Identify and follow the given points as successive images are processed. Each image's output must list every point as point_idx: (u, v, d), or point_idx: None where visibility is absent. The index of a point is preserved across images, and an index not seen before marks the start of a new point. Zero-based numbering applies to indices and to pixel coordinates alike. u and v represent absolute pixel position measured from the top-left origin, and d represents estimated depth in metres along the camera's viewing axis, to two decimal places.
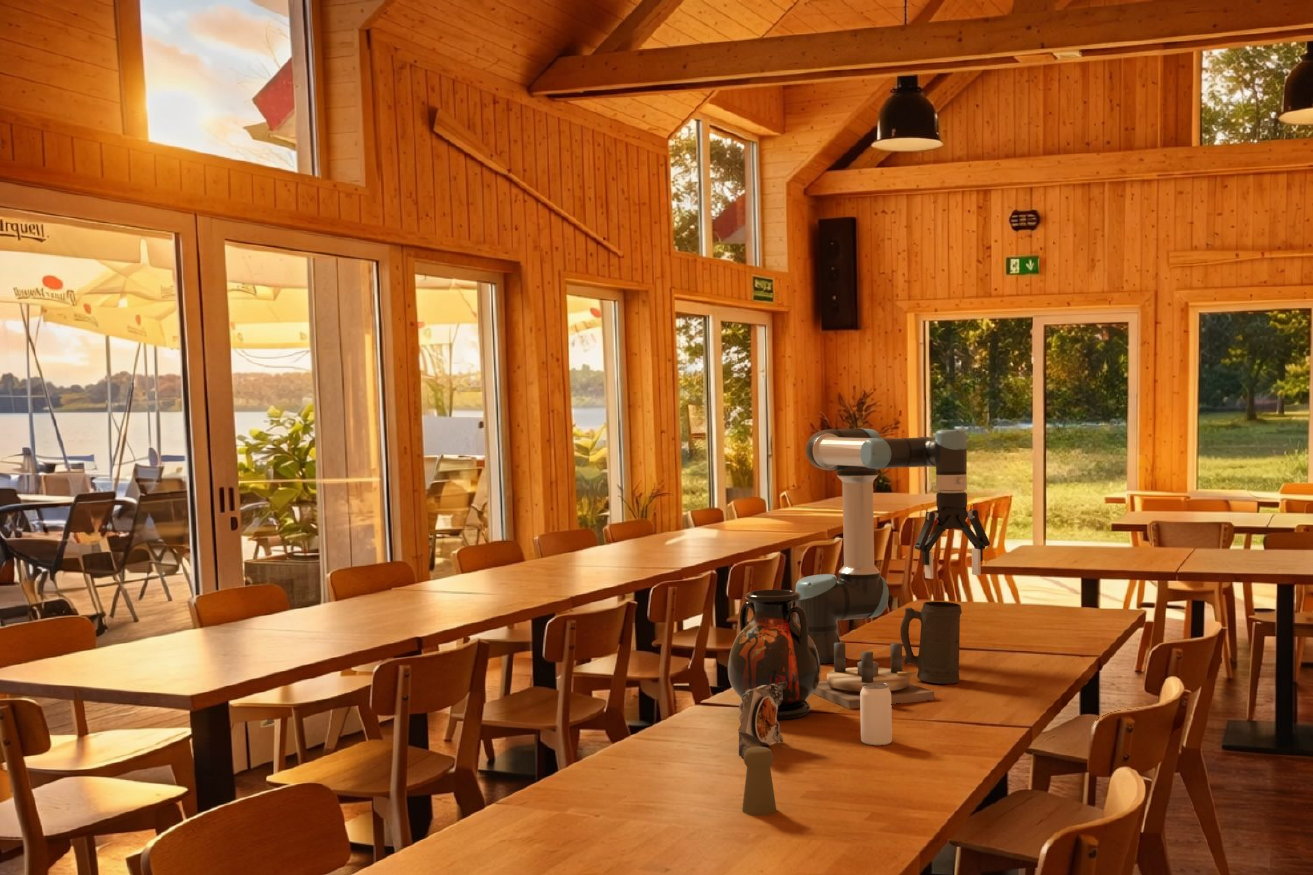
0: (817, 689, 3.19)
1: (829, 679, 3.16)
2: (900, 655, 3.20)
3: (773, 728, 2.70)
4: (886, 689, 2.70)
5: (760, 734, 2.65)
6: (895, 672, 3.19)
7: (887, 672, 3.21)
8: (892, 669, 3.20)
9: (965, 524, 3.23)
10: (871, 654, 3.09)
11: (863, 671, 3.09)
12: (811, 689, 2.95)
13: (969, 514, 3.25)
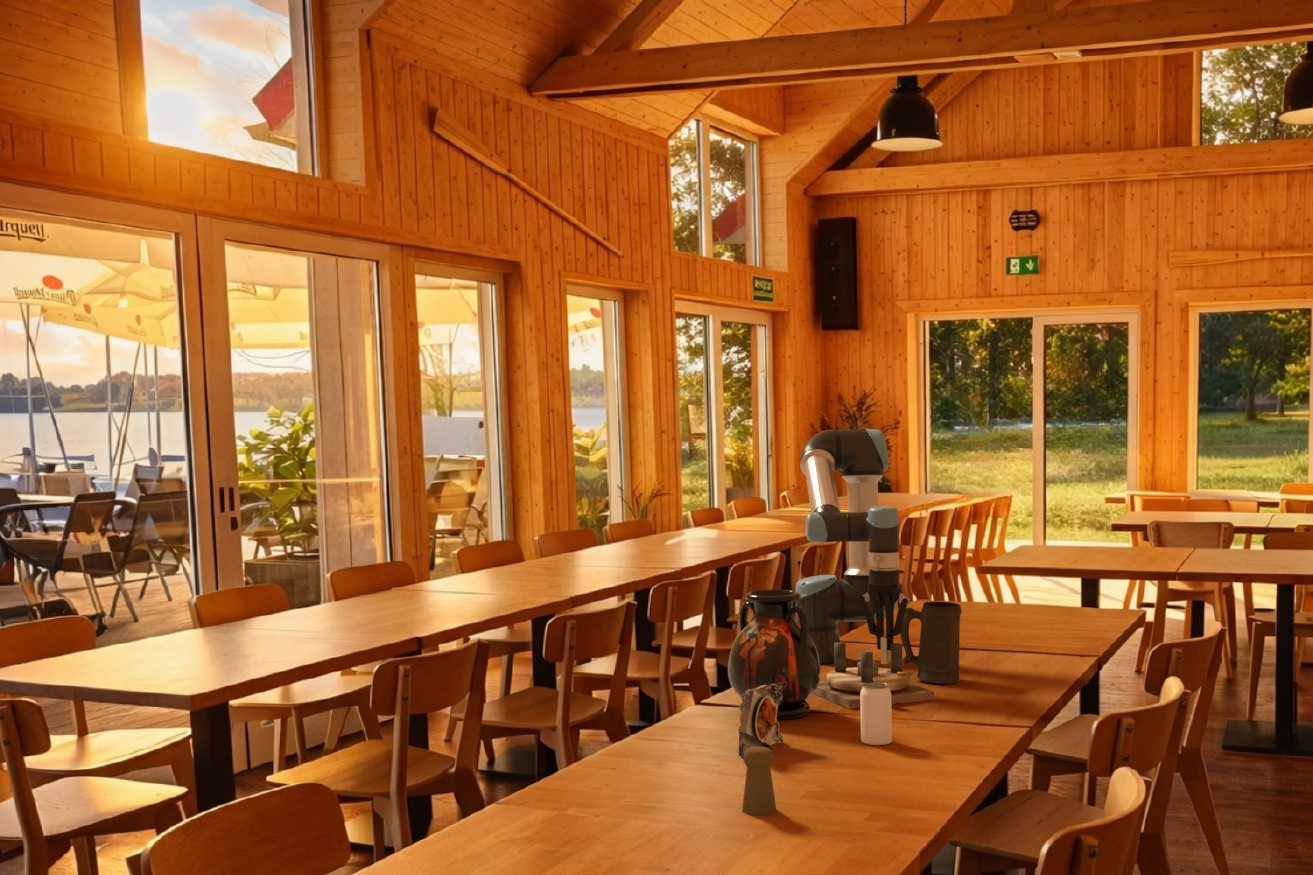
0: (817, 689, 3.19)
1: (829, 679, 3.16)
2: (900, 655, 3.20)
3: (773, 728, 2.70)
4: (886, 689, 2.70)
5: (760, 734, 2.65)
6: (895, 672, 3.19)
7: (887, 672, 3.21)
8: (892, 669, 3.20)
9: (887, 605, 3.21)
10: (871, 654, 3.09)
11: (863, 671, 3.09)
12: (811, 689, 2.95)
13: (900, 597, 3.21)
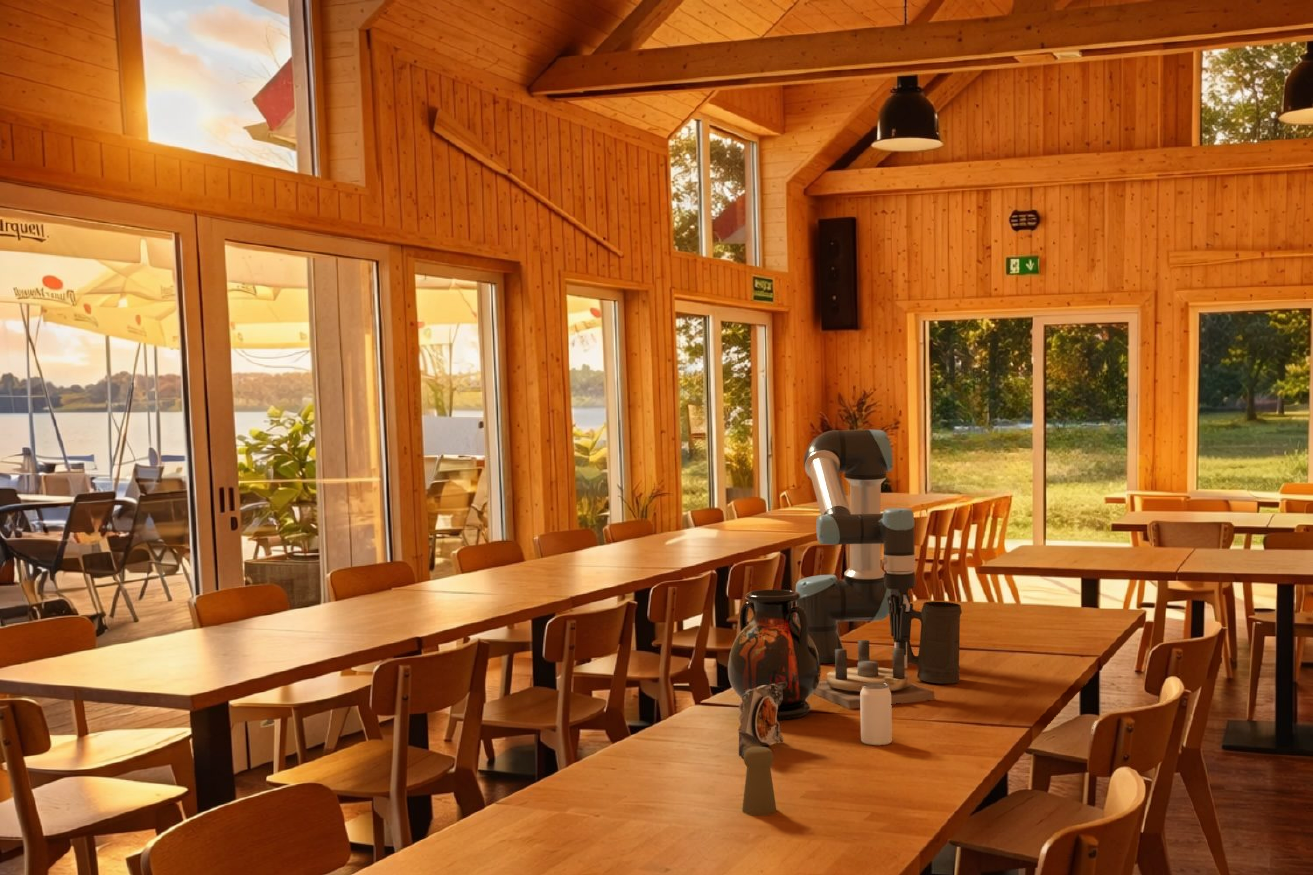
0: (817, 689, 3.19)
1: None
2: (898, 661, 3.12)
3: (773, 728, 2.70)
4: (886, 689, 2.70)
5: (760, 734, 2.65)
6: (893, 677, 3.13)
7: (891, 676, 3.16)
8: (893, 674, 3.14)
9: (894, 609, 3.16)
10: (840, 652, 3.13)
11: (835, 667, 3.15)
12: (811, 689, 2.95)
13: (903, 602, 3.13)
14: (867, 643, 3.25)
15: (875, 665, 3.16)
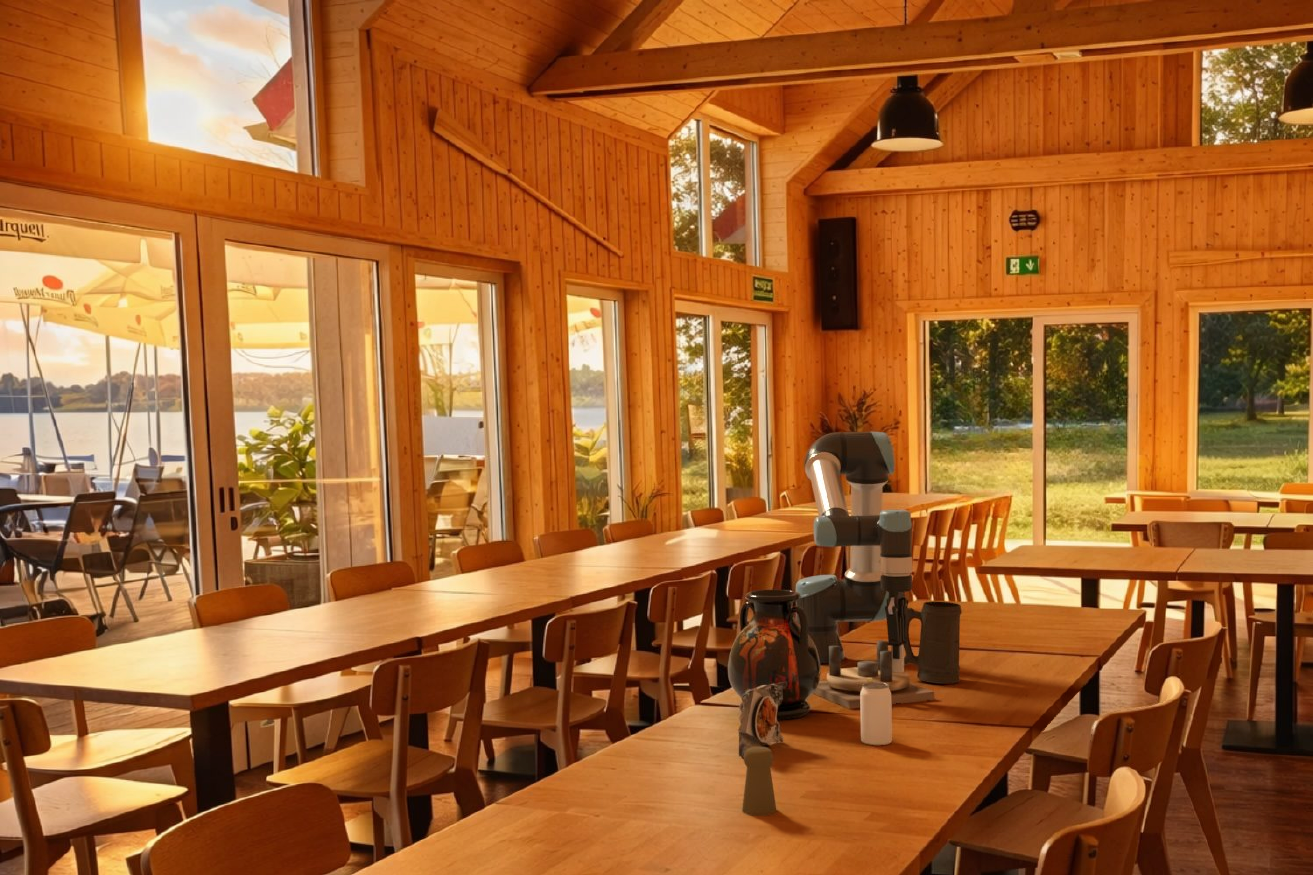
0: (817, 689, 3.19)
1: None
2: (882, 663, 3.10)
3: (773, 728, 2.70)
4: (886, 689, 2.70)
5: (760, 734, 2.65)
6: (880, 679, 3.11)
7: None
8: None
9: None
10: (831, 648, 3.18)
11: None
12: (811, 689, 2.95)
13: None
14: (883, 644, 3.23)
15: (870, 666, 3.16)
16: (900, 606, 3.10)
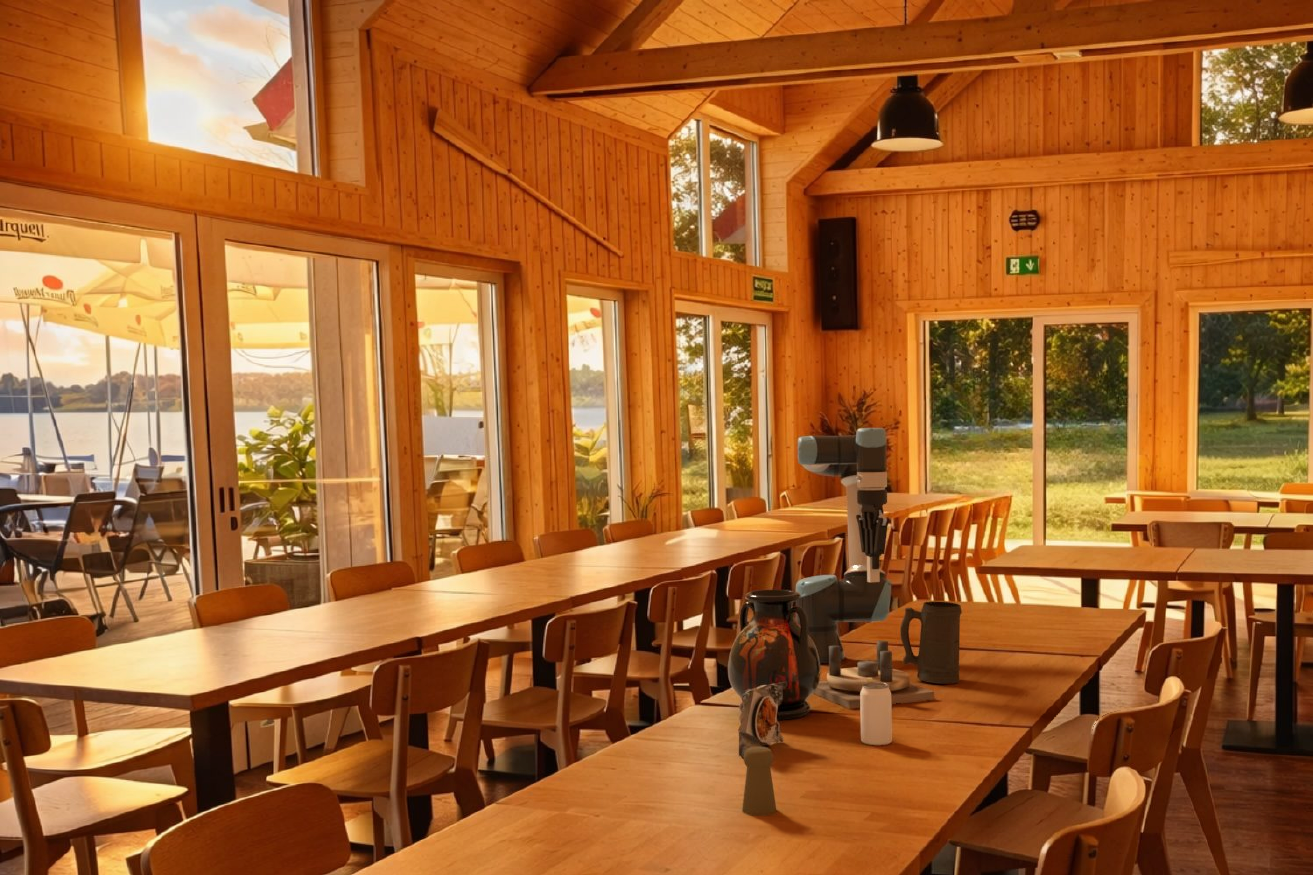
0: (817, 689, 3.19)
1: None
2: (882, 663, 3.10)
3: (773, 728, 2.70)
4: (886, 689, 2.70)
5: (760, 734, 2.65)
6: (880, 679, 3.11)
7: None
8: None
9: (869, 524, 3.27)
10: (831, 648, 3.18)
11: None
12: (811, 689, 2.95)
13: (879, 517, 3.24)
14: (883, 644, 3.23)
15: (870, 666, 3.16)
16: None
